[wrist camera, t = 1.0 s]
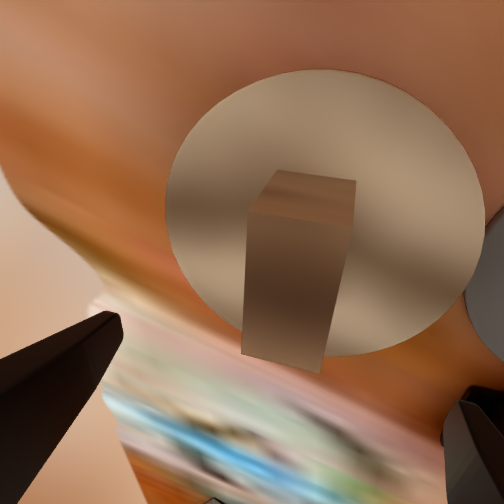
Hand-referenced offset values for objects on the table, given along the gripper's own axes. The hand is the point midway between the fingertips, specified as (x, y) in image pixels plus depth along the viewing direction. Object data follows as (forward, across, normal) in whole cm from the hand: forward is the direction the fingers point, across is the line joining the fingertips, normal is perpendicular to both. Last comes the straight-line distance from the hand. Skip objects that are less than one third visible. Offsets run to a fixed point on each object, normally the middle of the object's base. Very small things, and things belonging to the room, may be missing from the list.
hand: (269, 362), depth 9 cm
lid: (+8, 0, 0) cm, 8 cm away
